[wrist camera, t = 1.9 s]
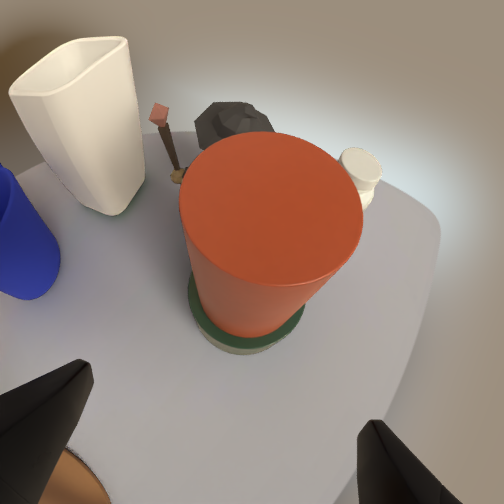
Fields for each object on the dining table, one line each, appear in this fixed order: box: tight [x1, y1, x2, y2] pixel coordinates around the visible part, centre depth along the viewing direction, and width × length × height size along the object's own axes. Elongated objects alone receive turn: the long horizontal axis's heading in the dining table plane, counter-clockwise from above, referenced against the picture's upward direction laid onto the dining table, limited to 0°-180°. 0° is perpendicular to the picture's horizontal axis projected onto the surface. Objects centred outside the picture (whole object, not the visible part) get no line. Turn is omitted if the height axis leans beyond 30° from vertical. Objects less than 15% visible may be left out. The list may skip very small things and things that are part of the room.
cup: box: [9, 36, 145, 216], centre depth 19 cm, size 7×7×15 cm
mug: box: [0, 163, 60, 300], centre depth 18 cm, size 8×12×10 cm
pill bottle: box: [338, 148, 382, 212], centre depth 23 cm, size 4×4×8 cm
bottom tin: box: [188, 270, 305, 355], centre depth 20 cm, size 8×8×4 cm
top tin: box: [179, 131, 363, 338], centre depth 14 cm, size 6×6×10 cm
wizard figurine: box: [149, 102, 275, 184], centre depth 21 cm, size 8×6×12 cm
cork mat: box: [38, 448, 111, 504], centre depth 13 cm, size 11×11×1 cm
